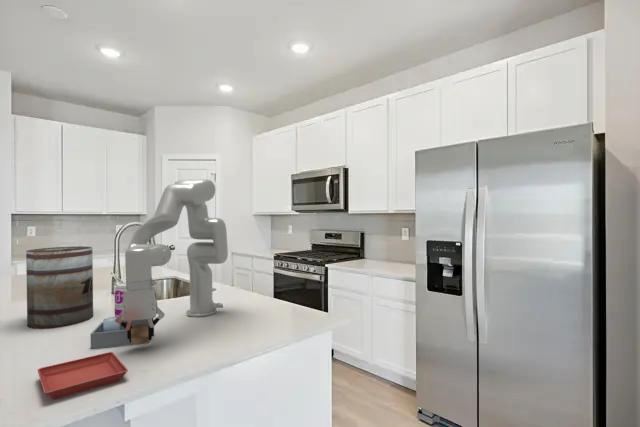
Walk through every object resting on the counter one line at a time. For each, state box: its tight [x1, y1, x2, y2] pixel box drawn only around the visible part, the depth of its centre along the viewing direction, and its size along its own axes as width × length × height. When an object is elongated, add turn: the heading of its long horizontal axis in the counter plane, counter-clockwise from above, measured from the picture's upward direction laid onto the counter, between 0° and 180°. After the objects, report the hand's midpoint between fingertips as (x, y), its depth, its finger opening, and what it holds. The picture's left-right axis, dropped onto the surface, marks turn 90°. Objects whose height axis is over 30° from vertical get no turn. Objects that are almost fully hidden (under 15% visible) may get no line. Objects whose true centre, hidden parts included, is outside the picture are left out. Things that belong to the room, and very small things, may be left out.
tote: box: [90, 320, 148, 350], centre depth 127 cm, size 17×13×5 cm
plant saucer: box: [37, 351, 129, 400], centre depth 96 cm, size 18×18×3 cm
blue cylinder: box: [102, 316, 120, 332], centre depth 126 cm, size 5×5×7 cm
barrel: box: [25, 245, 94, 330], centre depth 150 cm, size 22×22×30 cm
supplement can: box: [113, 282, 126, 320], centre depth 150 cm, size 8×8×15 cm
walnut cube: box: [131, 323, 150, 346], centre depth 118 cm, size 5×5×5 cm
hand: (141, 339), depth 118 cm, fingers closed on walnut cube, 5 cm apart
